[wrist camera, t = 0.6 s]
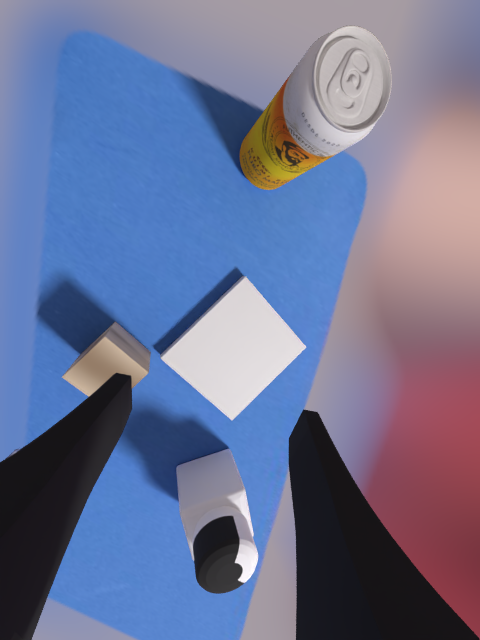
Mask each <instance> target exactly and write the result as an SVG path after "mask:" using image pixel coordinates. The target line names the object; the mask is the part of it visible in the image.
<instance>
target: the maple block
mask: <svg viewBox="0 0 480 640" xmlns="http://www.w3.org/2000/svg"><path fill="white" fill-rule="evenodd" d="M150 354H151V352H150V351H149V350H148V349H147V348H145V347H144V346H143V345H142V344H141V343H140V342H138V341H137V340H136V339H135V338H134V337H133V336H132V335H130V334H129V333H128V332H127V331H126V330H125V329H123V328H122V327H121V326H120V325H119V324H118V323H116V322H114V323H113V324H112V325H111V326H110V327H109V328H108V329H107V330H106V331H105V332H104V333H103V334H102V335H100V336H99V337H98V338H97V339H96V340H95V341H94V342H93V343H92V344H91V345H90V346H89V347H88V348H87V349H86V350H85V351H83V352H82V353H81V354H80V356H79V357H78V358H77V359H76V360H75V362H74V363H73V364H72V365H71V367H70V368H69V369H68V370H67V372H66V373H65V374H64V375H63V377H62V378H64V379H65V380H66V381H68V382H69V383H71V384H72V385H73V386H75V387H76V388H78V389H79V390H80V391H82V392H83V393H84V394H86V395H87V396H90V395H92V394H93V393H94V392H95V391H96V390H97V389H98V388H99V387H101V386H102V385H103V384H104V383H105V382H106V381H107V380H108V379H109V378H110V377H111V376H112V375H114V374H115V373H121V374H126V375H131V378H132V388H133V387H134V386H135V385H136V384H137V383H138V382H139V381H140V380H141V379H143V378H144V377H145V376H146V375H147V374H148V373H149V364H150Z"/></svg>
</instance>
